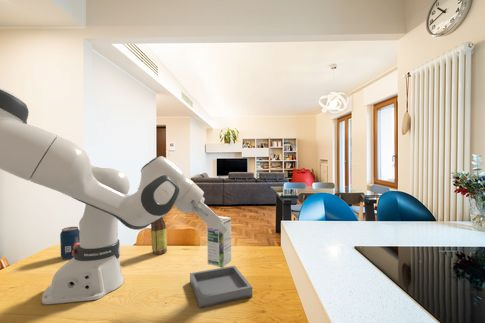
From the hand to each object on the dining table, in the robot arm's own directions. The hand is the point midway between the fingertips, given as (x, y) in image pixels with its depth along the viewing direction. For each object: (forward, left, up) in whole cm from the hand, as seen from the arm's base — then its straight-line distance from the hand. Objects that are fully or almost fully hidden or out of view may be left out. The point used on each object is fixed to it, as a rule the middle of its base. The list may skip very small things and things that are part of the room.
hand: (220, 227), depth 82 cm
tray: (0, 0, -20) cm, 20 cm away
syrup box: (0, 0, -12) cm, 12 cm away
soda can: (-51, +48, -20) cm, 73 cm away
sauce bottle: (-16, +39, -20) cm, 47 cm away
